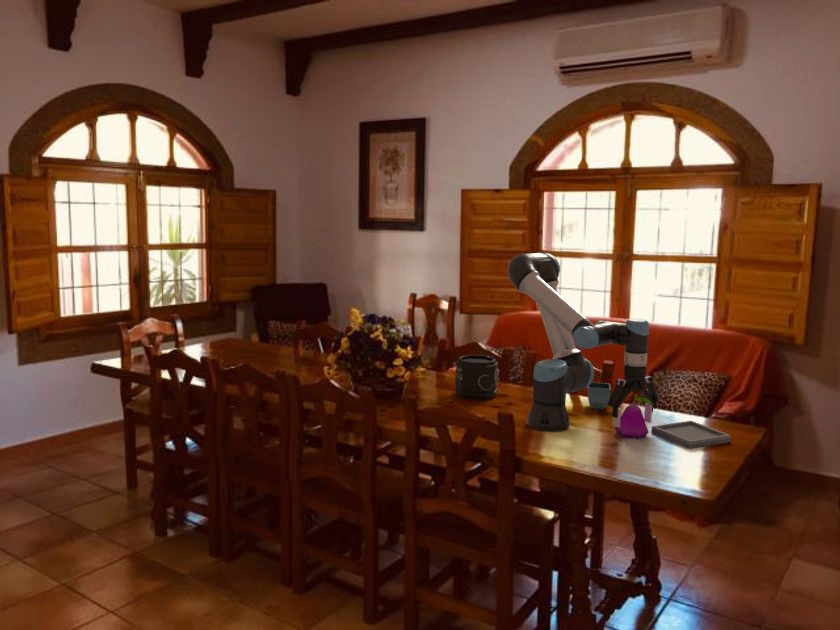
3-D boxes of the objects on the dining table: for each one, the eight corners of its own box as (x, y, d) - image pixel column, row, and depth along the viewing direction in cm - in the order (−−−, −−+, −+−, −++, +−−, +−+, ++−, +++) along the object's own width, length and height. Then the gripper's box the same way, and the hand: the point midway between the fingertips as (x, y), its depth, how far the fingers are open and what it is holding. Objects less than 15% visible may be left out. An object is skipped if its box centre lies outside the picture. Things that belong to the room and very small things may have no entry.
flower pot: (609, 411, 280) (611, 388, 279) (586, 409, 282) (587, 387, 281) (608, 405, 289) (609, 383, 288) (586, 403, 291) (587, 381, 289)
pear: (630, 441, 244) (633, 398, 242) (608, 432, 253) (610, 391, 251) (655, 437, 249) (657, 395, 247) (632, 428, 259) (634, 387, 256)
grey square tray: (689, 448, 237) (689, 441, 237) (651, 433, 254) (651, 426, 253) (730, 442, 245) (730, 435, 244) (690, 427, 261) (691, 420, 260)
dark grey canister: (505, 393, 304) (506, 357, 302) (485, 403, 290) (487, 365, 287) (468, 387, 314) (468, 352, 312) (447, 396, 299) (447, 359, 297)
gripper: (613, 369, 239) (610, 431, 242) (671, 363, 249) (667, 422, 252) (598, 364, 246) (596, 425, 249) (656, 359, 256) (652, 417, 259)
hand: (632, 424), depth 251 cm, fingers open, 13 cm apart
